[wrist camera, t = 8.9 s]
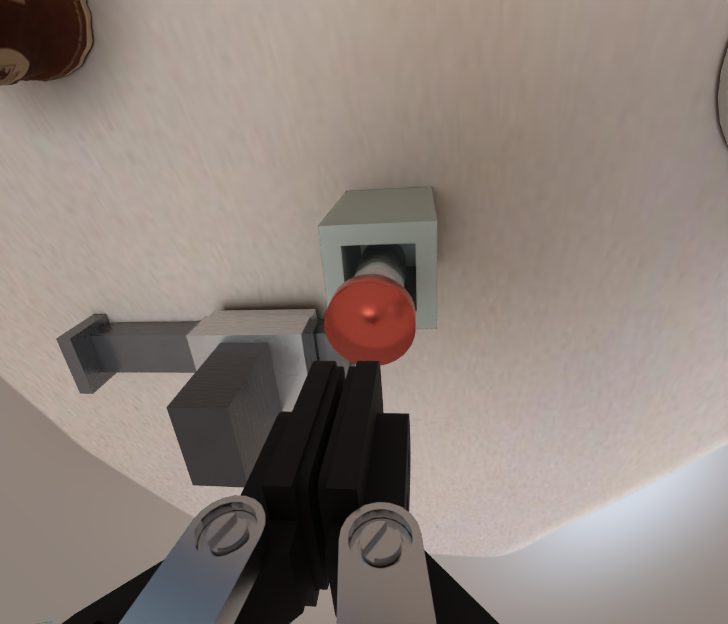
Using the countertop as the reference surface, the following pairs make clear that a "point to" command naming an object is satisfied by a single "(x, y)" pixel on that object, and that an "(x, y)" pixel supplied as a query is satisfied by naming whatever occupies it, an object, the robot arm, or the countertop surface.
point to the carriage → (239, 388)
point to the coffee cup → (42, 39)
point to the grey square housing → (384, 241)
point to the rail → (144, 349)
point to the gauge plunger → (373, 309)
